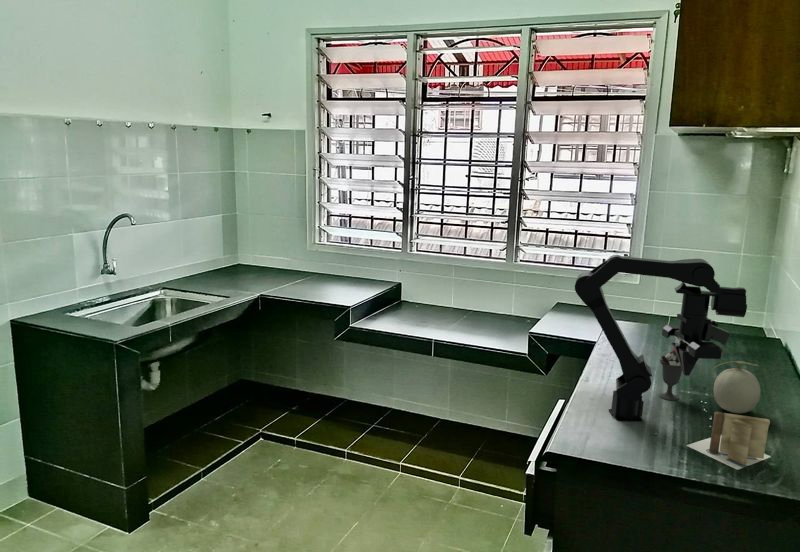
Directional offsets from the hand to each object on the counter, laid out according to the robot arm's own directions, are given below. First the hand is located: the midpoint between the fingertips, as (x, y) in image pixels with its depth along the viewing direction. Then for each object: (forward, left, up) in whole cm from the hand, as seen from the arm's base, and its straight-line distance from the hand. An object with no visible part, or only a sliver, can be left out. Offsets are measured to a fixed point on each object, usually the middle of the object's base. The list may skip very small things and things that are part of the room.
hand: (686, 375), depth 145 cm
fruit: (+18, +10, -13) cm, 24 cm away
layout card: (+5, -13, -13) cm, 19 cm away
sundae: (+5, +18, -13) cm, 23 cm away
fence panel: (+6, -16, -12) cm, 21 cm away
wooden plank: (+3, -17, -13) cm, 21 cm away
